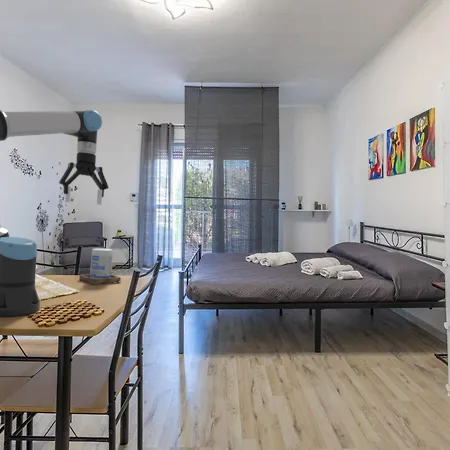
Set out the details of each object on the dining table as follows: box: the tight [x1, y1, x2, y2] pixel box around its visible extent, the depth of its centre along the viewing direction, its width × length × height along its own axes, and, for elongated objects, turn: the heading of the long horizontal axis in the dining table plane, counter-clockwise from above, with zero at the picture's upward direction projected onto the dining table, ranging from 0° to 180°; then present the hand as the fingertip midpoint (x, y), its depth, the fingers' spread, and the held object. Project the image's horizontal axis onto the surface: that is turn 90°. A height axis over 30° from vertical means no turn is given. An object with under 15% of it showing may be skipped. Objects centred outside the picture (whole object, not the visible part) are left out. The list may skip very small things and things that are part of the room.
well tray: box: [78, 273, 122, 286], centre depth 169 cm, size 14×14×2 cm
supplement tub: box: [89, 247, 113, 279], centre depth 169 cm, size 10×10×15 cm
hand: (83, 203), depth 149 cm, fingers open, 13 cm apart
